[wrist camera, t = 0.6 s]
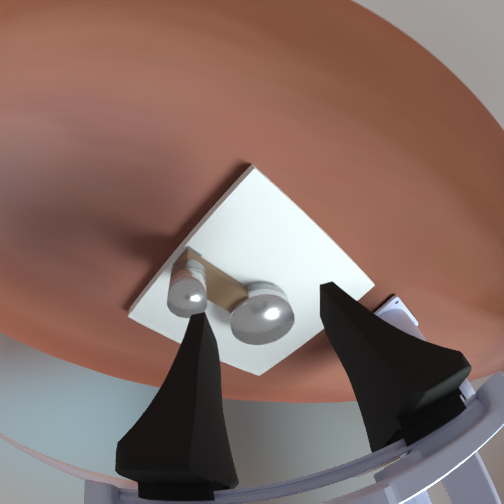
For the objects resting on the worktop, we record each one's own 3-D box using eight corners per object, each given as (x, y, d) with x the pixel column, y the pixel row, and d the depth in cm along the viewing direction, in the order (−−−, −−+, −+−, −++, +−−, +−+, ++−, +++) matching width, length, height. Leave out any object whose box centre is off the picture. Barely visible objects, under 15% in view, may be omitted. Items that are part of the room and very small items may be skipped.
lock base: (369, 277, 25) (375, 285, 24) (257, 367, 30) (259, 376, 28) (251, 163, 18) (255, 168, 17) (129, 307, 22) (127, 317, 21)
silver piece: (299, 301, 23) (315, 337, 19) (259, 335, 24) (268, 372, 21) (196, 229, 18) (195, 265, 14) (156, 278, 19) (149, 318, 16)
